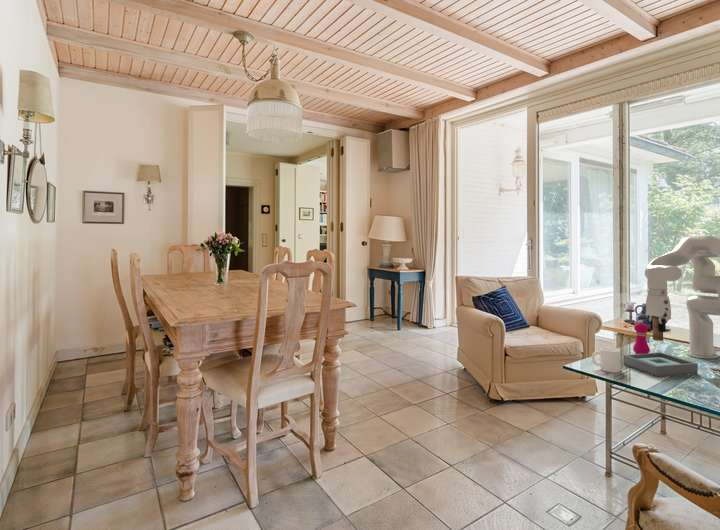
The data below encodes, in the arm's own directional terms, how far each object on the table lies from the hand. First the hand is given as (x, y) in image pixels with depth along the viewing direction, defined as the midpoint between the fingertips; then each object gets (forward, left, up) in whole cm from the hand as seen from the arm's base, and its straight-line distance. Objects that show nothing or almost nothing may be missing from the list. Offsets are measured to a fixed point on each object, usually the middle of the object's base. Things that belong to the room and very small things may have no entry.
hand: (657, 330), depth 189 cm
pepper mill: (-7, -19, -19) cm, 28 cm away
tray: (0, 0, -19) cm, 19 cm away
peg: (0, 0, -4) cm, 4 cm away
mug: (+23, -5, -19) cm, 30 cm away
